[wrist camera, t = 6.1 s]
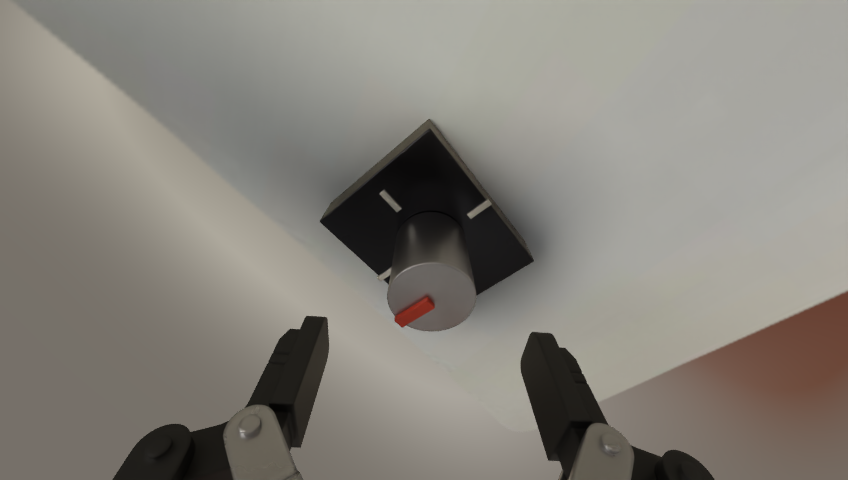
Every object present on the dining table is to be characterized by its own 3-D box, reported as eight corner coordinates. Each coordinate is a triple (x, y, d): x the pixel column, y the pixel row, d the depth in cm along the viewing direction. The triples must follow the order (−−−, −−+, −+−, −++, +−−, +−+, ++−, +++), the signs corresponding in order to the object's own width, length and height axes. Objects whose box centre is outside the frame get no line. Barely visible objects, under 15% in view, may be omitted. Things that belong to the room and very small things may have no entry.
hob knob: (437, 197, 18) (441, 250, 13) (478, 247, 19) (495, 310, 15) (381, 237, 19) (367, 298, 14) (424, 281, 21) (424, 348, 16)
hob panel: (328, 204, 21) (316, 224, 18) (430, 116, 18) (431, 127, 16) (429, 299, 25) (429, 325, 22) (525, 239, 22) (537, 262, 20)
